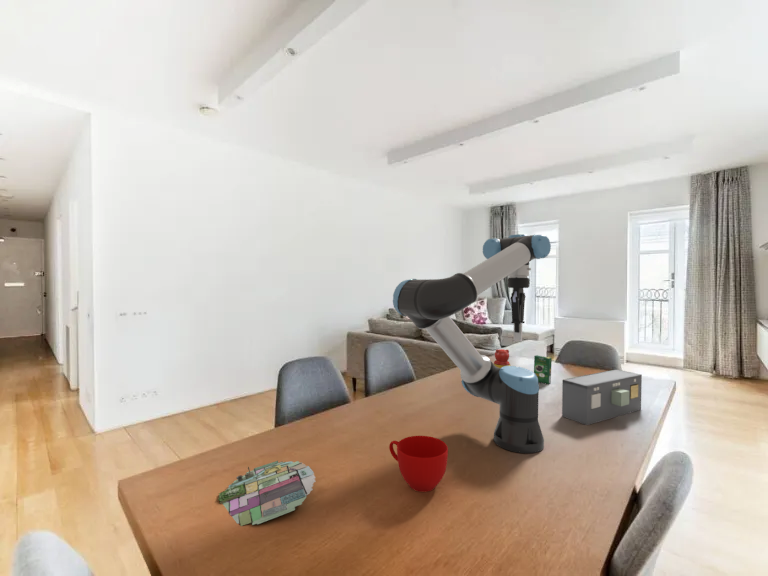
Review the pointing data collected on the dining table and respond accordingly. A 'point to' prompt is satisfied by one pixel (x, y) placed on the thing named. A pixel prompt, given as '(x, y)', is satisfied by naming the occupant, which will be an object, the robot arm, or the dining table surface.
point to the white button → (595, 400)
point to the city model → (267, 492)
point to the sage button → (619, 397)
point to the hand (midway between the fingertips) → (517, 340)
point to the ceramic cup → (421, 461)
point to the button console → (582, 387)
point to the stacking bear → (501, 358)
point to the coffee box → (543, 368)
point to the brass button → (633, 391)
